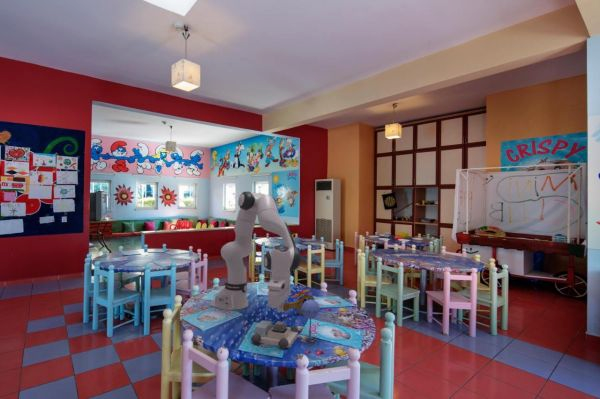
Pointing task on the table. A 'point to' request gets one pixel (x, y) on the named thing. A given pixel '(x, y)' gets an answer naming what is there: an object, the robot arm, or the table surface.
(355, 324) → the table surface
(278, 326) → the engine block
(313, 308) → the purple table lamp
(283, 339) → the chassis
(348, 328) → the table surface
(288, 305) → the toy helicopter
